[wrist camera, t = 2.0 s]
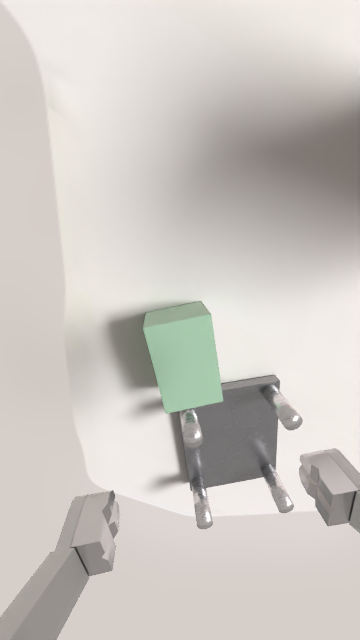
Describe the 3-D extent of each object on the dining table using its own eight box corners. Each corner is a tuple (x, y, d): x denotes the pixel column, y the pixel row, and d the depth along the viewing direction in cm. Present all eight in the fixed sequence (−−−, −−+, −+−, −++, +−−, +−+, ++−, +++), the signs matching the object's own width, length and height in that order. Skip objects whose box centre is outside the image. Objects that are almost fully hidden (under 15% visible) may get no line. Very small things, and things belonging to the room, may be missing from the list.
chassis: (175, 391, 22) (179, 431, 17) (274, 374, 22) (305, 409, 18) (189, 482, 27) (196, 532, 22) (271, 466, 27) (294, 513, 22)
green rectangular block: (145, 311, 19) (142, 328, 15) (200, 300, 19) (210, 314, 15) (164, 384, 22) (165, 413, 18) (212, 374, 22) (223, 401, 18)
